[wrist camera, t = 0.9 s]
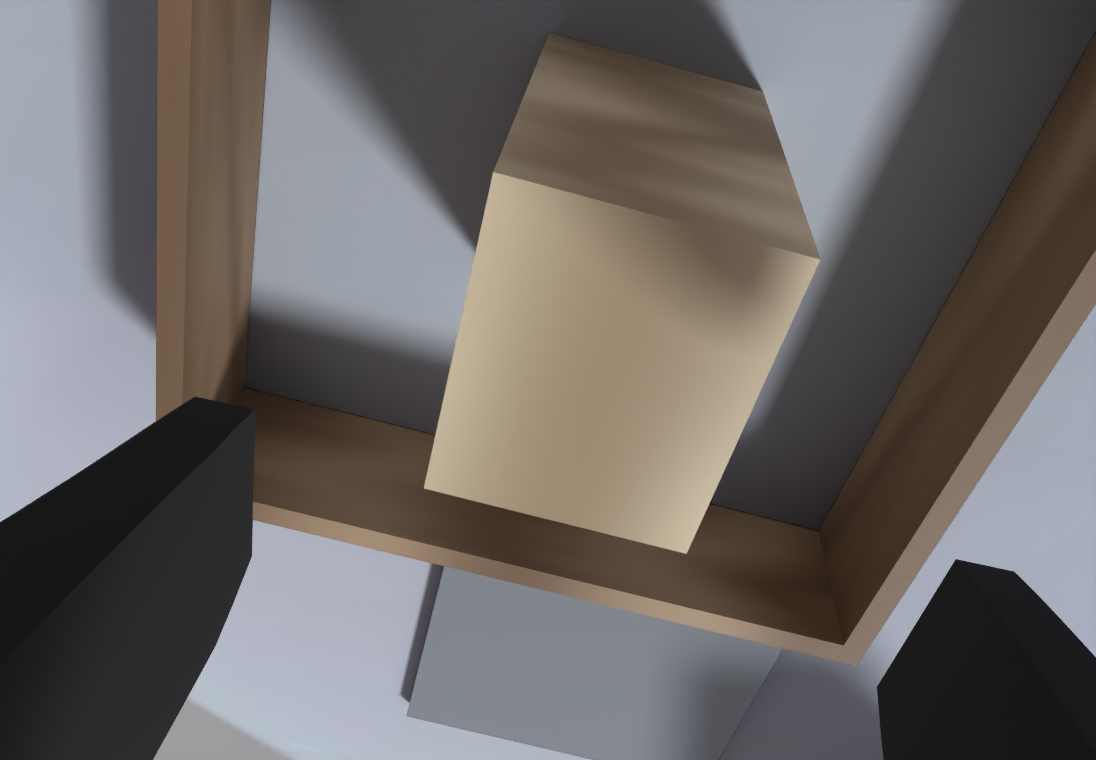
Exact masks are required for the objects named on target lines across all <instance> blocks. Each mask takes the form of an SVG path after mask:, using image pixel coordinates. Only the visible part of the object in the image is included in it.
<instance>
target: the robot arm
mask: <svg viewBox="0 0 1096 760" xmlns="http://www.w3.org/2000/svg"><path fill="white" fill-rule="evenodd" d="M254 443H255V409H251V408H246V407H241V406H237V405H232V404H227V403H223V402H218V401H213V400H209V399H204V398H199V397H193V398H192V399H190V400H189V401H187V402H185V403H184V404H182V405H181V406H179V407H177V408H176V409H174V410H173V411H171V412H170V413H168V414H166V415H165V416H163V417H162V418H160V419H159V420H157V421H156V422H154V423H153V424H151V425H150V426H148V427H147V428H145V429H144V430H142V431H141V432H139V433H138V434H136V435H135V436H133V437H132V438H130V439H129V440H127V441H126V442H124V443H123V444H121V445H120V446H118V447H117V448H115V449H114V450H112V451H111V452H109V453H108V454H106V455H105V456H103V457H102V458H100V459H99V460H97V461H96V462H94V463H93V464H91V465H90V466H88V467H87V468H85V469H84V470H82V471H80V472H79V473H77V474H76V475H74V476H73V477H71V478H70V479H68V480H66V481H65V482H63V483H62V484H60V485H59V486H57V487H55V488H54V489H52V490H51V491H49V492H47V493H46V494H44V495H43V496H41V497H40V498H38V499H36V500H35V501H33V502H32V503H30V504H28V505H27V506H25V507H24V508H22V509H21V510H19V511H17V512H16V513H14V514H13V515H11V516H10V517H8V518H6V519H5V520H3V521H1V522H0V760H153V758H154V757H155V755H156V753H157V751H158V749H159V748H160V746H161V744H162V742H163V740H164V739H165V737H166V735H167V733H168V731H169V730H170V728H171V726H172V724H173V722H174V721H175V719H176V717H177V715H178V713H179V711H180V710H181V708H182V706H183V704H184V702H185V701H186V699H187V697H188V695H189V693H190V692H191V690H192V688H193V686H194V684H195V682H196V681H197V679H198V677H199V675H200V673H201V672H202V670H203V668H204V666H205V664H206V662H207V660H208V659H209V657H210V655H211V653H212V651H213V649H214V647H215V646H216V643H217V641H218V638H219V636H220V634H221V631H222V629H223V626H224V624H225V622H226V619H227V617H228V615H229V612H230V610H231V607H232V605H233V602H234V600H235V597H236V595H237V592H238V590H239V587H240V585H241V582H242V580H243V577H244V575H245V572H246V570H247V567H248V565H249V562H250V559H251V557H252V524H253V484H254ZM877 692H878V704H879V716H880V728H881V740H882V749H883V757H884V760H1096V657H1095V656H1094V655H1093V654H1092V653H1091V652H1090V651H1089V650H1088V648H1087V647H1086V646H1085V645H1084V644H1083V643H1082V642H1081V641H1080V640H1079V639H1078V638H1077V636H1076V635H1075V634H1074V633H1073V632H1072V631H1071V630H1070V629H1069V628H1068V627H1067V626H1066V625H1065V623H1064V622H1063V621H1062V620H1061V619H1060V618H1059V617H1058V616H1057V615H1056V614H1055V613H1054V612H1053V611H1052V610H1051V608H1050V607H1049V606H1048V605H1047V604H1046V603H1045V602H1044V601H1043V600H1042V599H1041V598H1040V597H1039V596H1038V595H1037V594H1036V593H1035V592H1034V591H1033V590H1032V589H1031V588H1030V587H1029V586H1028V585H1027V584H1026V583H1025V582H1024V581H1023V580H1022V579H1021V578H1020V577H1019V576H1018V575H1017V574H1016V573H1015V572H1013V571H1008V570H1004V569H999V568H994V567H990V566H985V565H980V564H976V563H971V562H966V561H962V560H957V559H956V560H955V562H954V563H953V565H952V566H951V568H950V570H949V571H948V573H947V575H946V576H945V578H944V579H943V581H942V583H941V584H940V586H939V587H938V589H937V591H936V592H935V594H934V596H933V597H932V599H931V600H930V602H929V604H928V605H927V607H926V609H925V610H924V612H923V613H922V615H921V617H920V618H919V620H918V622H917V623H916V625H915V626H914V628H913V630H912V631H911V633H910V634H909V636H908V638H907V639H906V641H905V643H904V644H903V646H902V647H901V649H900V651H899V652H898V654H897V656H896V657H895V659H894V660H893V662H892V664H891V665H890V667H889V668H888V670H887V672H886V673H885V675H884V677H883V678H882V680H881V681H880V683H879V685H878V686H877Z"/></svg>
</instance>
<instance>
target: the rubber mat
mask: <svg viewBox="0 0 1096 760" xmlns="http://www.w3.org/2000/svg"><path fill="white" fill-rule="evenodd" d="M782 649H783V648H779V647H775V646H771V645H767V644H762V643H758V642H754V641H750V640H746V639H742V638H738V637H734V636H729V635H725V634H721V633H717V632H713V631H709V630H705V629H701V628H696V627H692V626H688V625H684V624H680V623H676V622H672V621H668V620H664V619H659V618H655V617H651V616H647V615H643V614H639V613H635V612H631V611H626V610H622V609H618V608H614V607H610V606H606V605H602V604H598V603H594V602H589V601H585V600H581V599H577V598H573V597H569V596H565V595H561V594H556V593H552V592H548V591H544V590H540V589H536V588H532V587H528V586H523V585H519V584H515V583H511V582H507V581H503V580H499V579H495V578H491V577H486V576H482V575H478V574H474V573H470V572H466V571H462V570H458V569H453V568H449V567H445V566H444V569H443V573H442V577H441V581H440V585H439V589H438V593H437V597H436V601H435V605H434V609H433V613H432V616H431V620H430V624H429V628H428V632H427V636H426V640H425V644H424V648H423V652H422V656H421V660H420V664H419V668H418V672H417V676H416V680H415V684H414V688H413V692H412V696H411V700H410V704H409V708H408V712H407V716H408V717H412V718H416V719H421V720H425V721H429V722H433V723H438V724H442V725H446V726H451V727H455V728H459V729H463V730H468V731H472V732H476V733H481V734H485V735H489V736H493V737H498V738H502V739H506V740H511V741H515V742H519V743H523V744H528V745H532V746H536V747H541V748H545V749H549V750H553V751H558V752H562V753H566V754H571V755H575V756H579V757H583V758H588V759H592V760H718V759H719V757H720V756H721V754H722V752H723V751H724V749H725V747H726V745H727V744H728V742H729V740H730V739H731V737H732V735H733V733H734V732H735V730H736V728H737V726H738V725H739V723H740V721H741V720H742V718H743V716H744V714H745V713H746V711H747V709H748V708H749V706H750V704H751V702H752V701H753V699H754V697H755V696H756V694H757V692H758V690H759V689H760V687H761V685H762V684H763V682H764V680H765V678H766V677H767V675H768V673H769V672H770V670H771V668H772V666H773V665H774V663H775V661H776V659H777V658H778V656H779V654H780V653H781V651H782Z"/></svg>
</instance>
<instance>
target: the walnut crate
mask: <svg viewBox="0 0 1096 760" xmlns="http://www.w3.org/2000/svg"><path fill="white" fill-rule="evenodd" d="M270 9H271V0H158V27H157V289H156V421H157V420H159V419H160V418H162V417H163V416H165V415H166V414H168V413H170V412H171V411H173V410H174V409H176V408H177V407H179V406H181V405H182V404H184V403H185V402H187V401H189V400H190V399H192V398H193V397H199V398H204V399H209V400H213V401H218V402H223V403H227V404H232V405H237V406H241V407H246V408H251V409H255V443H254V484H253V520H256V521H260V522H264V523H268V524H272V525H276V526H280V527H285V528H289V529H293V530H297V531H301V532H305V533H309V534H313V535H318V536H322V537H326V538H330V539H334V540H338V541H342V542H346V543H350V544H355V545H359V546H363V547H367V548H371V549H375V550H379V551H383V552H388V553H392V554H396V555H400V556H404V557H408V558H412V559H416V560H421V561H425V562H429V563H433V564H437V565H441V566H445V567H449V568H453V569H458V570H462V571H466V572H470V573H474V574H478V575H482V576H486V577H491V578H495V579H499V580H503V581H507V582H511V583H515V584H519V585H523V586H528V587H532V588H536V589H540V590H544V591H548V592H552V593H556V594H561V595H565V596H569V597H573V598H577V599H581V600H585V601H589V602H594V603H598V604H602V605H606V606H610V607H614V608H618V609H622V610H626V611H631V612H635V613H639V614H643V615H647V616H651V617H655V618H659V619H664V620H668V621H672V622H676V623H680V624H684V625H688V626H692V627H696V628H701V629H705V630H709V631H713V632H717V633H721V634H725V635H729V636H734V637H738V638H742V639H746V640H750V641H754V642H758V643H762V644H767V645H771V646H775V647H779V648H783V649H787V650H791V651H795V652H799V653H804V654H808V655H812V656H816V657H820V658H824V659H828V660H832V661H837V662H841V663H845V664H849V665H853V666H857V665H858V663H859V662H860V660H861V659H862V657H863V656H864V654H865V653H866V651H867V650H868V648H869V647H870V645H871V644H872V642H873V641H874V639H875V638H876V636H877V635H878V633H879V632H880V630H881V628H882V627H883V625H884V624H885V622H886V621H887V619H888V618H889V616H890V615H891V613H892V612H893V610H894V609H895V607H896V606H897V604H898V603H899V601H900V600H901V598H902V597H903V595H904V594H905V592H906V591H907V589H908V588H909V586H910V585H911V583H912V582H913V580H914V579H915V577H916V576H917V574H918V572H919V571H920V569H921V568H922V566H923V565H924V563H925V562H926V560H927V559H928V557H929V556H930V554H931V553H932V551H933V550H934V548H935V547H936V545H937V544H938V542H939V541H940V539H941V538H942V536H943V535H944V533H945V532H946V530H947V529H948V527H949V526H950V524H951V523H952V521H953V520H954V518H955V516H956V515H957V513H958V512H959V510H960V509H961V507H962V506H963V504H964V503H965V501H966V500H967V498H968V497H969V495H970V494H971V492H972V491H973V489H974V488H975V486H976V485H977V483H978V482H979V480H980V479H981V477H982V476H983V474H984V473H985V471H986V470H987V468H988V467H989V465H990V464H991V462H992V460H993V459H994V457H995V456H996V454H997V453H998V451H999V450H1000V448H1001V447H1002V445H1003V444H1004V442H1005V441H1006V439H1007V438H1008V436H1009V435H1010V433H1011V432H1012V430H1013V429H1014V427H1015V426H1016V424H1017V423H1018V421H1019V420H1020V418H1021V417H1022V415H1023V414H1024V412H1025V411H1026V409H1027V408H1028V406H1029V404H1030V403H1031V401H1032V400H1033V398H1034V397H1035V395H1036V394H1037V392H1038V391H1039V389H1040V388H1041V386H1042V385H1043V383H1044V382H1045V380H1046V379H1047V377H1048V376H1049V374H1050V373H1051V371H1052V370H1053V368H1054V367H1055V365H1056V364H1057V362H1058V361H1059V359H1060V358H1061V356H1062V355H1063V353H1064V352H1065V350H1066V348H1067V347H1068V345H1069V344H1070V342H1071V341H1072V339H1073V338H1074V336H1075V335H1076V333H1077V332H1078V330H1079V329H1080V327H1081V326H1082V324H1083V323H1084V321H1085V320H1086V318H1087V317H1088V315H1089V314H1090V312H1091V311H1092V309H1093V308H1094V306H1095V305H1096V33H1095V35H1094V36H1093V38H1092V40H1091V42H1090V44H1089V45H1088V47H1087V49H1086V51H1085V53H1084V54H1083V56H1082V58H1081V60H1080V62H1079V63H1078V65H1077V67H1076V69H1075V71H1074V72H1073V74H1072V76H1071V78H1070V80H1069V81H1068V83H1067V85H1066V87H1065V89H1064V90H1063V92H1062V94H1061V96H1060V98H1059V99H1058V101H1057V103H1056V105H1055V107H1054V108H1053V110H1052V112H1051V114H1050V116H1049V117H1048V119H1047V121H1046V123H1045V125H1044V126H1043V128H1042V130H1041V132H1040V134H1039V135H1038V137H1037V139H1036V141H1035V143H1034V144H1033V146H1032V148H1031V150H1030V152H1029V153H1028V155H1027V157H1026V159H1025V161H1024V162H1023V164H1022V166H1021V168H1020V170H1019V171H1018V173H1017V175H1016V177H1015V179H1014V180H1013V182H1012V184H1011V186H1010V188H1009V189H1008V191H1007V193H1006V195H1005V197H1004V198H1003V200H1002V202H1001V204H1000V206H999V207H998V209H997V211H996V213H995V215H994V216H993V218H992V220H991V222H990V224H989V225H988V227H987V229H986V231H985V233H984V234H983V236H982V238H981V240H980V242H979V243H978V245H977V247H976V249H975V251H974V252H973V254H972V256H971V258H970V260H969V261H968V263H967V265H966V267H965V269H964V271H963V272H962V274H961V276H960V278H959V280H958V281H957V283H956V285H955V287H954V289H953V290H952V292H951V294H950V296H949V298H948V299H947V301H946V303H945V305H944V307H943V308H942V310H941V312H940V314H939V316H938V317H937V319H936V321H935V323H934V325H933V326H932V328H931V330H930V332H929V334H928V335H927V337H926V339H925V341H924V343H923V344H922V346H921V348H920V350H919V352H918V353H917V355H916V357H915V359H914V361H913V362H912V364H911V366H910V368H909V370H908V371H907V373H906V375H905V377H904V379H903V380H902V382H901V384H900V386H899V388H898V389H897V391H896V393H895V395H894V397H893V398H892V400H891V402H890V404H889V406H888V407H887V409H886V411H885V413H884V415H883V416H882V418H881V420H880V422H879V424H878V425H877V427H876V429H875V431H874V433H873V434H872V436H871V438H870V440H869V442H868V443H867V445H866V447H865V449H864V451H863V452H862V454H861V456H860V458H859V460H858V461H857V463H856V465H855V467H854V469H853V470H852V472H851V474H850V476H849V478H848V479H847V481H846V483H845V485H844V487H843V488H842V490H841V492H840V494H839V496H838V497H837V499H836V501H835V503H834V505H833V506H832V508H831V510H830V512H829V514H828V515H827V517H826V519H825V521H824V523H823V524H822V526H821V528H820V530H819V532H818V531H814V530H810V529H806V528H802V527H798V526H794V525H790V524H786V523H782V522H778V521H774V520H770V519H766V518H762V517H758V516H754V515H750V514H746V513H742V512H739V511H735V510H731V509H727V508H723V507H719V506H715V505H711V504H709V506H708V508H707V510H706V512H705V514H704V517H703V519H702V521H701V523H700V525H699V528H698V530H697V532H696V534H695V536H694V539H693V541H692V543H691V545H690V547H689V550H688V552H687V554H685V553H681V552H677V551H673V550H669V549H665V548H661V547H657V546H653V545H649V544H645V543H641V542H637V541H633V540H629V539H625V538H621V537H617V536H613V535H609V534H605V533H601V532H597V531H593V530H589V529H585V528H581V527H577V526H573V525H569V524H565V523H561V522H557V521H553V520H549V519H544V518H540V517H536V516H532V515H528V514H524V513H520V512H516V511H512V510H508V509H504V508H500V507H496V506H492V505H488V504H484V503H480V502H476V501H472V500H468V499H464V498H460V497H456V496H452V495H448V494H444V493H440V492H436V491H432V490H428V489H424V485H425V480H426V476H427V471H428V467H429V462H430V458H431V453H432V448H433V444H434V439H435V435H431V434H427V433H423V432H419V431H415V430H411V429H407V428H403V427H399V426H395V425H391V424H387V423H383V422H379V421H375V420H371V419H367V418H363V417H359V416H355V415H351V414H347V413H343V412H339V411H335V410H331V409H327V408H323V407H319V406H315V405H311V404H307V403H303V402H299V401H295V400H291V399H287V398H283V397H279V396H275V395H271V394H267V393H263V392H259V391H255V390H251V389H247V388H244V384H245V370H246V355H247V341H248V326H249V312H250V298H251V283H252V269H253V254H254V240H255V225H256V211H257V197H258V182H259V168H260V153H261V139H262V124H263V110H264V96H265V81H266V67H267V52H268V38H269V23H270Z"/></svg>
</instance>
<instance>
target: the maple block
mask: <svg viewBox="0 0 1096 760" xmlns="http://www.w3.org/2000/svg"><path fill="white" fill-rule="evenodd" d="M819 261H820V257H819V254H818V251H817V248H816V246H815V243H814V240H813V237H812V234H811V231H810V228H809V225H808V222H807V219H806V216H805V213H804V210H803V207H802V205H801V202H800V199H799V196H798V193H797V190H796V187H795V184H794V181H793V178H792V175H791V172H790V169H789V166H788V164H787V161H786V158H785V155H784V152H783V149H782V146H781V143H780V140H779V137H778V134H777V131H776V128H775V126H774V123H773V120H772V117H771V114H770V111H769V108H768V105H767V102H766V99H765V96H764V93H763V91H760V90H756V89H752V88H749V87H745V86H742V85H738V84H734V83H731V82H727V81H723V80H720V79H716V78H713V77H709V76H705V75H702V74H698V73H695V72H691V71H687V70H684V69H680V68H676V67H673V66H669V65H666V64H662V63H658V62H655V61H651V60H648V59H644V58H640V57H637V56H633V55H629V54H626V53H622V52H619V51H615V50H611V49H608V48H604V47H600V46H597V45H593V44H590V43H586V42H582V41H579V40H575V39H572V38H568V37H564V36H561V35H557V34H553V33H550V32H549V35H548V37H547V40H546V42H545V45H544V47H543V50H542V52H541V55H540V57H539V60H538V62H537V65H536V67H535V70H534V72H533V75H532V77H531V79H530V82H529V84H528V87H527V89H526V92H525V94H524V97H523V99H522V102H521V104H520V107H519V109H518V112H517V114H516V117H515V119H514V122H513V124H512V127H511V129H510V131H509V134H508V136H507V139H506V141H505V144H504V146H503V149H502V151H501V154H500V156H499V159H498V161H497V164H496V166H495V169H494V171H493V175H492V180H491V184H490V189H489V193H488V198H487V202H486V207H485V211H484V216H483V221H482V225H481V230H480V234H479V239H478V243H477V248H476V252H475V257H474V262H473V266H472V271H471V275H470V280H469V284H468V289H467V293H466V298H465V303H464V307H463V312H462V316H461V321H460V325H459V330H458V334H457V339H456V344H455V348H454V353H453V357H452V362H451V366H450V371H449V376H448V380H447V385H446V389H445V394H444V398H443V403H442V407H441V412H440V417H439V421H438V426H437V430H436V435H435V439H434V444H433V448H432V453H431V458H430V462H429V467H428V471H427V476H426V480H425V485H424V489H428V490H432V491H436V492H440V493H444V494H448V495H452V496H456V497H460V498H464V499H468V500H472V501H476V502H480V503H484V504H488V505H492V506H496V507H500V508H504V509H508V510H512V511H516V512H520V513H524V514H528V515H532V516H536V517H540V518H544V519H549V520H553V521H557V522H561V523H565V524H569V525H573V526H577V527H581V528H585V529H589V530H593V531H597V532H601V533H605V534H609V535H613V536H617V537H621V538H625V539H629V540H633V541H637V542H641V543H645V544H649V545H653V546H657V547H661V548H665V549H669V550H673V551H677V552H681V553H685V554H687V552H688V550H689V547H690V545H691V543H692V541H693V539H694V536H695V534H696V532H697V530H698V528H699V525H700V523H701V521H702V519H703V517H704V514H705V512H706V510H707V508H708V506H709V503H710V501H711V499H712V497H713V495H714V492H715V490H716V488H717V486H718V484H719V481H720V479H721V477H722V475H723V473H724V470H725V468H726V466H727V464H728V462H729V459H730V457H731V455H732V453H733V451H734V448H735V446H736V444H737V442H738V440H739V437H740V435H741V433H742V431H743V429H744V426H745V424H746V422H747V420H748V418H749V415H750V413H751V411H752V409H753V407H754V404H755V402H756V400H757V398H758V396H759V393H760V391H761V389H762V387H763V385H764V382H765V380H766V378H767V376H768V374H769V371H770V369H771V367H772V365H773V363H774V360H775V358H776V356H777V354H778V352H779V349H780V347H781V345H782V343H783V341H784V338H785V336H786V334H787V332H788V330H789V327H790V325H791V323H792V321H793V319H794V316H795V314H796V312H797V310H798V308H799V305H800V303H801V301H802V299H803V297H804V294H805V292H806V290H807V288H808V286H809V283H810V281H811V279H812V277H813V275H814V272H815V270H816V268H817V266H818V264H819Z"/></svg>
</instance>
